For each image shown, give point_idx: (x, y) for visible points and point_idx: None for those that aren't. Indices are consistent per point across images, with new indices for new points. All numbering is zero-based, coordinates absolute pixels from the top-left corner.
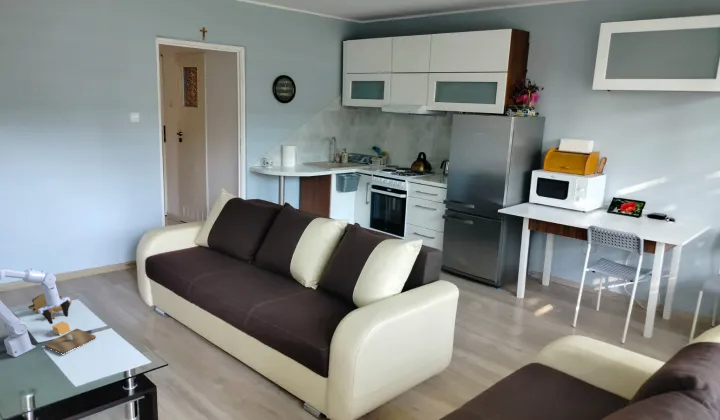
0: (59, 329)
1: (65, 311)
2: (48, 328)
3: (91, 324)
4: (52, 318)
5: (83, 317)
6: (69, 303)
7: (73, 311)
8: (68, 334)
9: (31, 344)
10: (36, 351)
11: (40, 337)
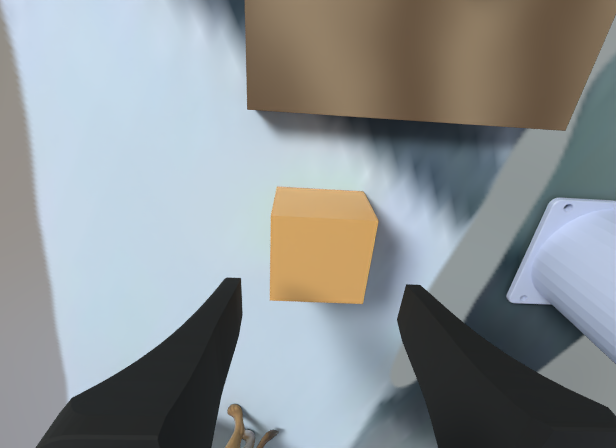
0: (362, 211)
1: (220, 335)
2: (321, 346)
3: (110, 90)
4: (241, 412)
5: (110, 273)
6: (56, 423)
7: None
8: (362, 73)
9: (530, 257)
10: (609, 133)
11: None
